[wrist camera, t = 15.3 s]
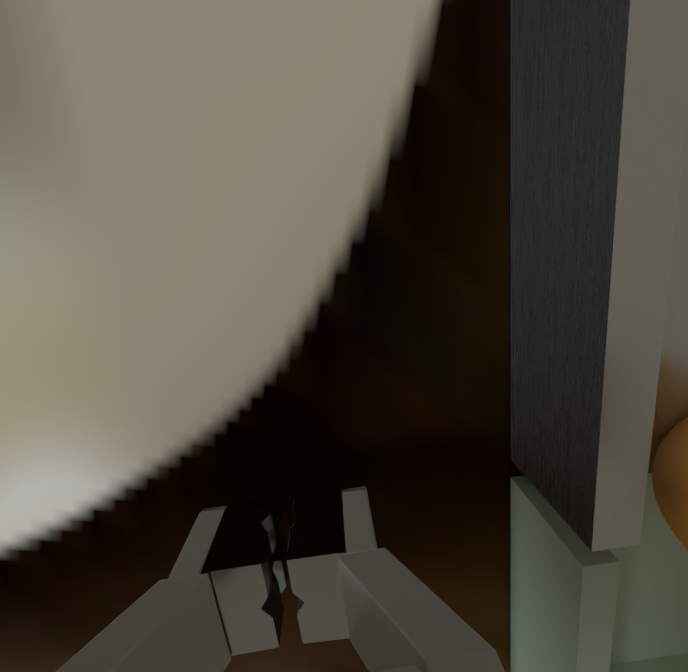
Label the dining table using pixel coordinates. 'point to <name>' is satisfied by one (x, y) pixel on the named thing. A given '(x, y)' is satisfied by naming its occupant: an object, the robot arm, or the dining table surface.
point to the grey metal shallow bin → (598, 252)
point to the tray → (594, 594)
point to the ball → (673, 480)
